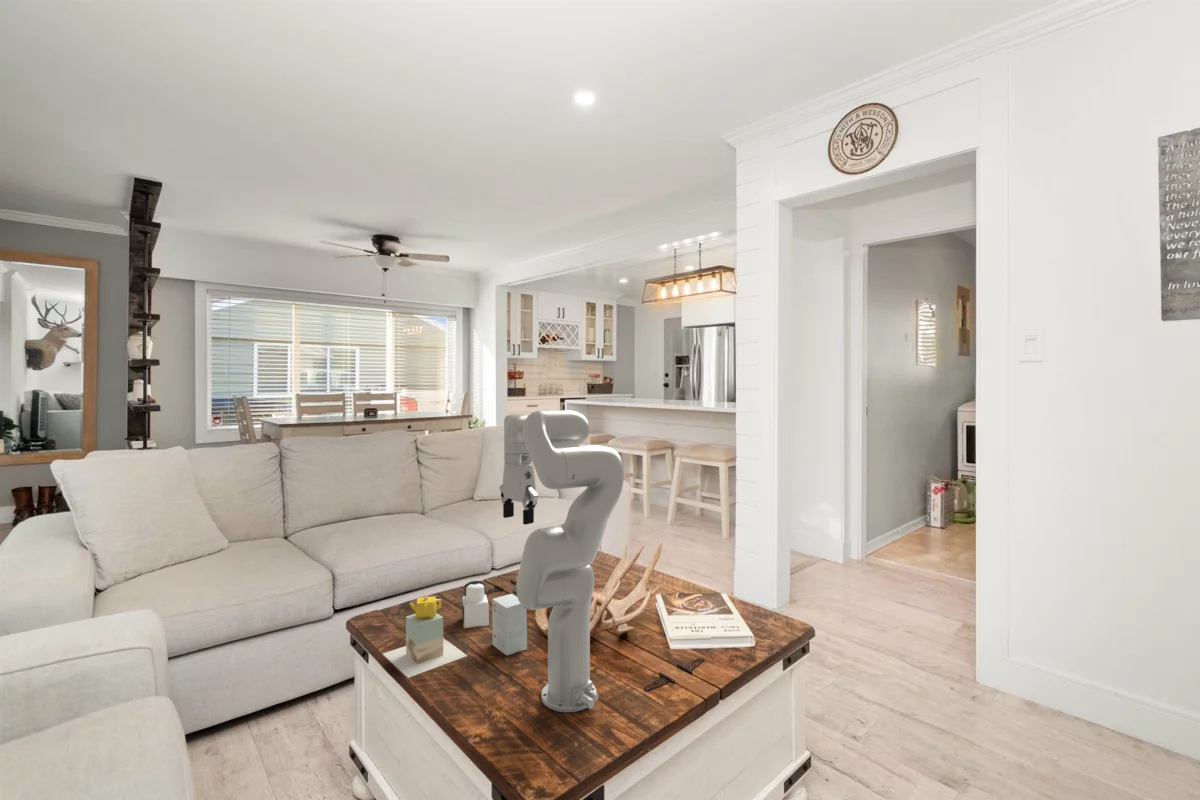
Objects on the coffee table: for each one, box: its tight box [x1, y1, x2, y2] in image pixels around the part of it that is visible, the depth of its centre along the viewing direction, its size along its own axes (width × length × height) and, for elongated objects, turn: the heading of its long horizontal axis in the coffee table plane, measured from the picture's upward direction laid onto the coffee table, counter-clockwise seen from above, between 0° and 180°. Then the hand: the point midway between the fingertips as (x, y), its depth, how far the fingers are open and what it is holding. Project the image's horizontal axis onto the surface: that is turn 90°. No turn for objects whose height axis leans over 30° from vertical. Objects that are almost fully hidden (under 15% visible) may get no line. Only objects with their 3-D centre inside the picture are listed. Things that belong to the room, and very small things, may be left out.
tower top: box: [405, 612, 444, 645], centre depth 146 cm, size 7×7×5 cm
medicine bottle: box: [461, 580, 490, 629], centre depth 166 cm, size 7×7×12 cm
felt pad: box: [382, 637, 468, 679], centre depth 146 cm, size 16×16×1 cm
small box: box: [491, 593, 528, 656], centre depth 150 cm, size 8×6×13 cm
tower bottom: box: [405, 635, 444, 664], centre depth 146 cm, size 7×7×5 cm
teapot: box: [409, 596, 442, 620], centre depth 145 cm, size 8×6×5 cm
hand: (518, 520), depth 155 cm, fingers open, 9 cm apart
